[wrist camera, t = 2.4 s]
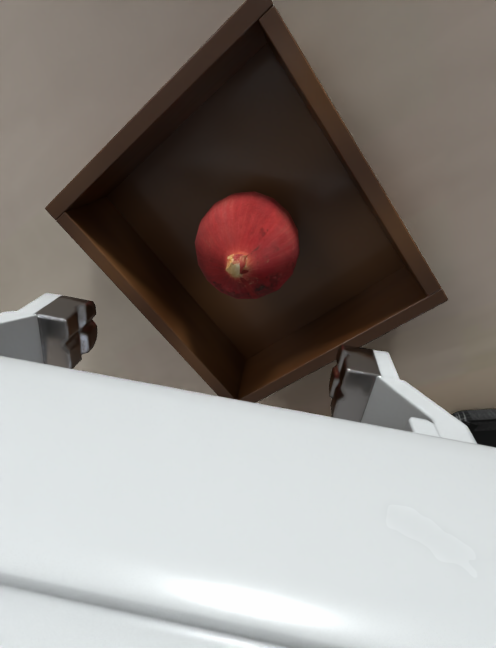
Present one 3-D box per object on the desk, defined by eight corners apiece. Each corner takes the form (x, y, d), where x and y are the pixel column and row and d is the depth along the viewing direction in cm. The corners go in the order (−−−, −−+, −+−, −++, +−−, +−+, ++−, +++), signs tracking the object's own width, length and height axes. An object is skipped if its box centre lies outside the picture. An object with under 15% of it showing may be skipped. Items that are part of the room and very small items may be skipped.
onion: (314, 251, 25) (319, 301, 18) (237, 286, 27) (214, 344, 20) (274, 165, 23) (263, 184, 16) (194, 210, 24) (151, 244, 17)
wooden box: (92, 192, 25) (44, 208, 20) (270, 17, 20) (261, -16, 15) (245, 368, 30) (234, 414, 25) (420, 266, 25) (449, 300, 20)
